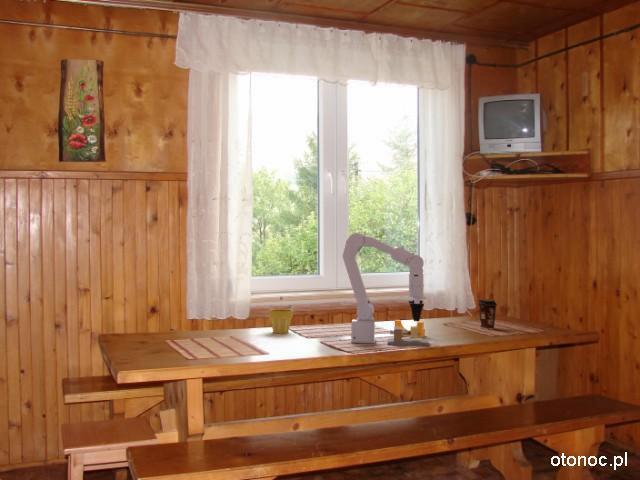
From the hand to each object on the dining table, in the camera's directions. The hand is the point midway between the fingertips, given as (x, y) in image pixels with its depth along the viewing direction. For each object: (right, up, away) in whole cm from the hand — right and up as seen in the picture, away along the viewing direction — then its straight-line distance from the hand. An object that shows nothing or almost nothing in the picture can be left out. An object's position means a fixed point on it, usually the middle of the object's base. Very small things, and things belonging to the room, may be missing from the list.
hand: (416, 319), depth 272 cm
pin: (-5, -7, 0) cm, 9 cm away
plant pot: (-55, -9, +27) cm, 62 cm away
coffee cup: (+38, -9, +41) cm, 57 cm away
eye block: (-2, -10, 0) cm, 10 cm away
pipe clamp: (0, -9, +19) cm, 21 cm away
